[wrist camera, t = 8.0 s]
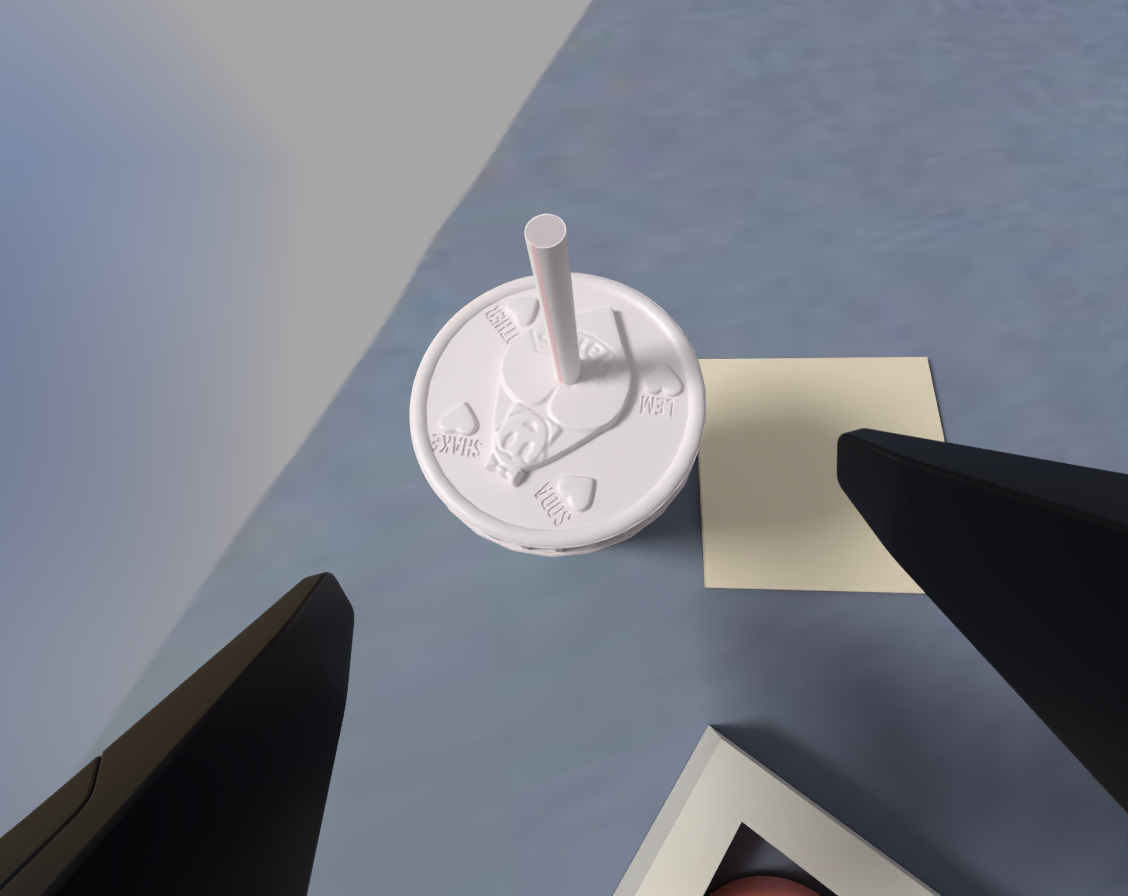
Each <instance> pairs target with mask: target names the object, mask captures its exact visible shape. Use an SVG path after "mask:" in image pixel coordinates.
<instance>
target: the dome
mask: <svg viewBox="0 0 1128 896" xmlns="http://www.w3.org/2000/svg"><path fill="white" fill-rule="evenodd" d="M709 896H821V895H819V894H818V893H816V892H815V891H813V890H811V889H809V888H807V887H805V886H803V885H802V884H799V883H796V882H793V881H791V880H788V879H783V878H778V877H772V876H754V877H746V878H742V879H739V880H735V881H733V882H730V883H728V884H726V885H724V886H722V887H720V888H719V889H717V890H716V891H714V892H713V893H711V894H710V895H709Z"/></svg>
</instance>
